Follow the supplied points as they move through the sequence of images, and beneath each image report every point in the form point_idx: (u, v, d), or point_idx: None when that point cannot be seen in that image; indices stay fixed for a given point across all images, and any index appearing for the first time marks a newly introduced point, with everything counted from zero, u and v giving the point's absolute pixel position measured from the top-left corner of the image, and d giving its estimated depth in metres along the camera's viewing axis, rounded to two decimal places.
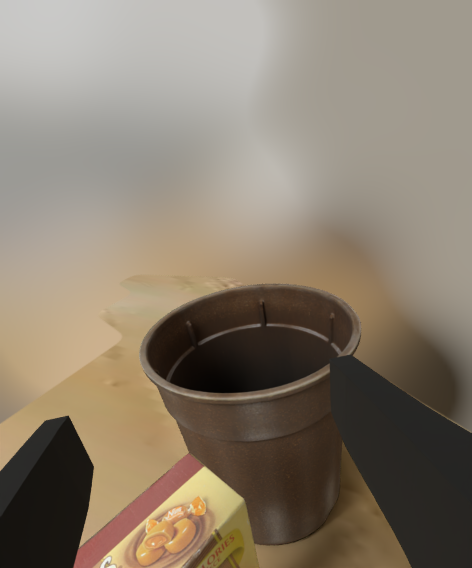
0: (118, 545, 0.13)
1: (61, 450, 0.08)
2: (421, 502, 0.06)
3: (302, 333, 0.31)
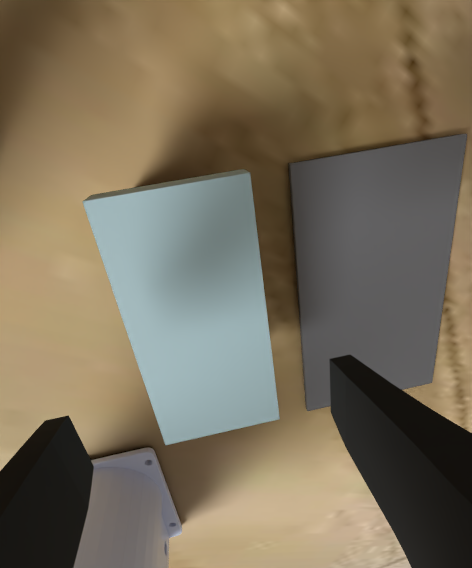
0: None
1: (61, 450, 0.08)
2: (421, 502, 0.06)
3: None
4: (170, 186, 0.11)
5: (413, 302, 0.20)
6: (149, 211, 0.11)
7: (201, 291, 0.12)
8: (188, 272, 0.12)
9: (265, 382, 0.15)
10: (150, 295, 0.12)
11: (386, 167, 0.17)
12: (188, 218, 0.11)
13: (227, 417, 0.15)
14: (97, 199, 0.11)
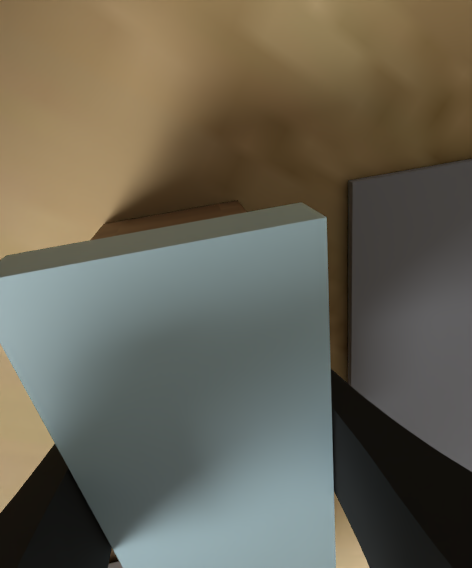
0: None
1: None
2: (377, 513, 0.06)
3: None
4: (160, 246, 0.05)
5: None
6: (116, 298, 0.05)
7: (220, 427, 0.07)
8: (196, 398, 0.06)
9: (320, 541, 0.09)
10: (124, 439, 0.07)
11: None
12: (197, 306, 0.06)
13: None
14: (1, 278, 0.05)
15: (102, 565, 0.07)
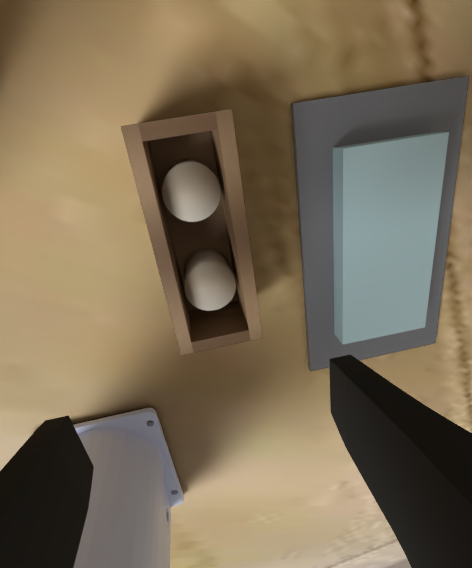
0: None
1: (61, 450, 0.08)
2: (421, 502, 0.06)
3: None
4: (397, 139, 0.16)
5: None
6: (381, 157, 0.16)
7: (398, 218, 0.18)
8: (393, 203, 0.17)
9: (422, 295, 0.20)
10: (365, 220, 0.17)
11: (388, 109, 0.17)
12: (404, 163, 0.17)
13: (389, 323, 0.20)
14: (352, 147, 0.16)
15: None
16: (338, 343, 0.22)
